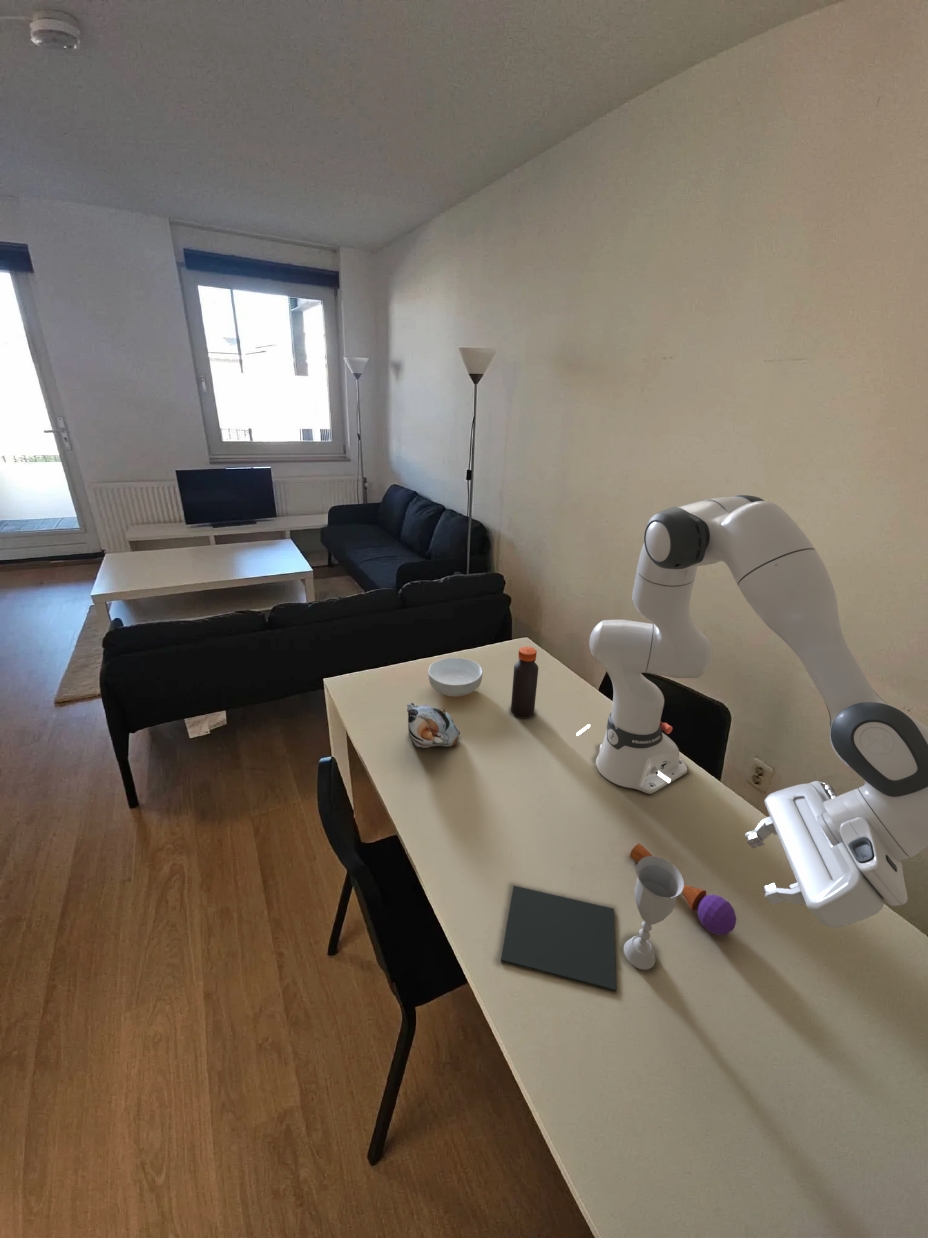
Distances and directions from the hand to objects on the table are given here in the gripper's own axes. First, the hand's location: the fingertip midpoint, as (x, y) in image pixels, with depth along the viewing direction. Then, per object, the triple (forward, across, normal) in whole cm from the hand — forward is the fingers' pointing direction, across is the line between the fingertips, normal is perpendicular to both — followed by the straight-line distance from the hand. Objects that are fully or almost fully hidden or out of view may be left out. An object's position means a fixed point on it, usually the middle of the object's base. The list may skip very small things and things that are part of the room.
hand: (756, 867), depth 71 cm
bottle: (+46, -65, -12) cm, 80 cm away
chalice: (+25, 0, +8) cm, 27 cm away
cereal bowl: (+61, -71, -28) cm, 97 cm away
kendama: (+20, -13, +14) cm, 27 cm away
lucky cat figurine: (+60, -44, -27) cm, 79 cm away
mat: (+34, 0, -1) cm, 34 cm away
